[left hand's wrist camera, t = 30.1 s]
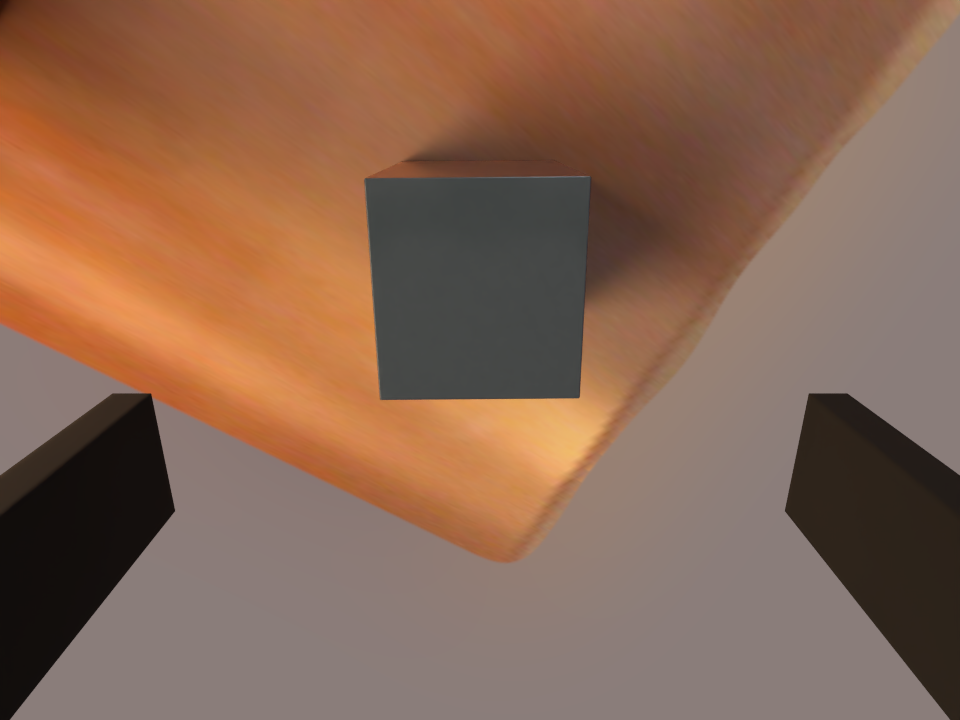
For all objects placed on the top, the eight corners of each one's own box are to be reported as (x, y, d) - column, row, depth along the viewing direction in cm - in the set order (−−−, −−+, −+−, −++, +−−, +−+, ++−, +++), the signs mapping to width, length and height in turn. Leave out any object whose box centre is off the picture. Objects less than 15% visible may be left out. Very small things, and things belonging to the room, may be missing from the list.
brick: (549, 317, 37) (579, 398, 26) (409, 319, 37) (379, 400, 26) (555, 159, 34) (591, 176, 23) (401, 161, 34) (363, 177, 23)
